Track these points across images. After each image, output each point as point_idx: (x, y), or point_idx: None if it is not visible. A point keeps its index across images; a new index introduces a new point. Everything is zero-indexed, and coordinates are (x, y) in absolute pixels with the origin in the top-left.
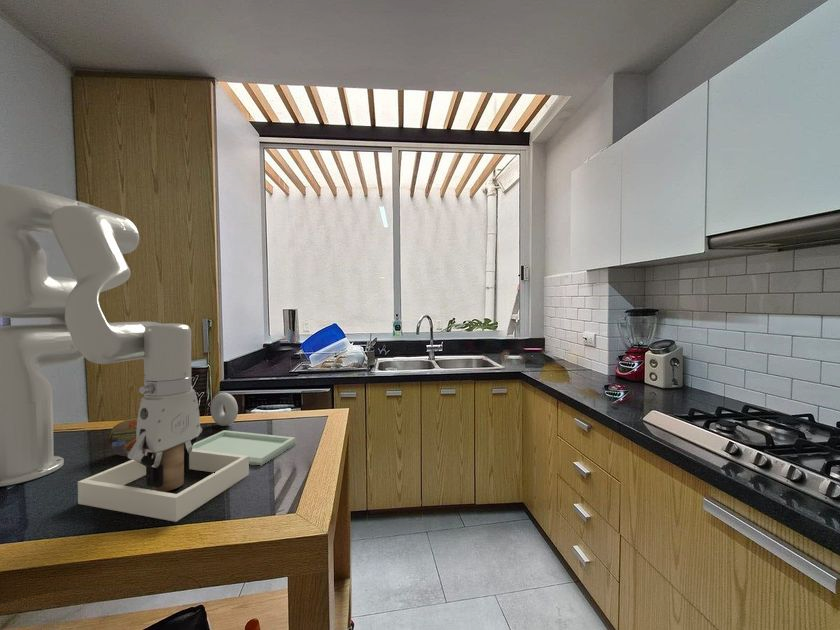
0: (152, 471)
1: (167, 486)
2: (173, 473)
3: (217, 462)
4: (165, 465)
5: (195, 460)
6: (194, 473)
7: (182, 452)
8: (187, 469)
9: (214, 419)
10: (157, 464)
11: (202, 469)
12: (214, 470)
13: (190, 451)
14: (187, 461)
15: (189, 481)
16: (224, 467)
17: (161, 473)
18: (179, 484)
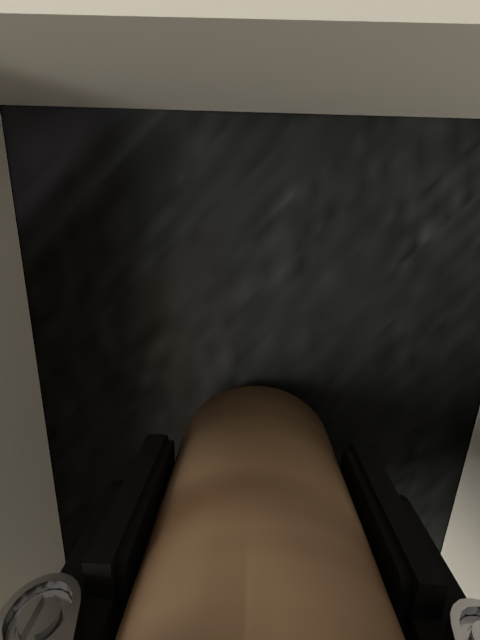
0: (453, 584)
1: (317, 423)
2: (304, 456)
3: None
4: (371, 567)
5: (11, 512)
6: (84, 441)
7: (197, 614)
8: (156, 447)
9: None
10: (475, 632)
11: (40, 427)
12: (24, 343)
13: (48, 579)
14: (137, 494)
15: (166, 396)
16: (107, 3)
17: (392, 514)
18: (254, 392)
